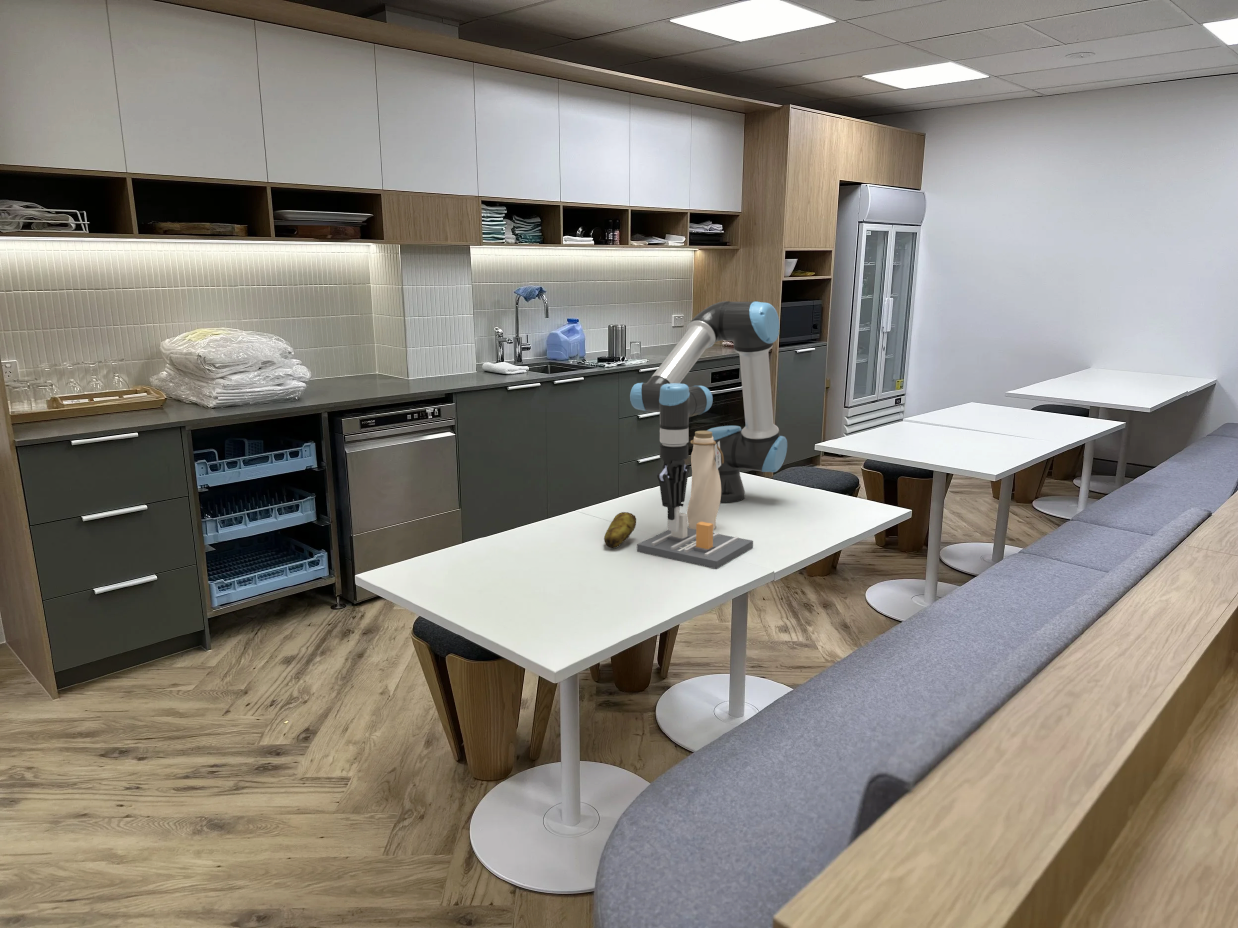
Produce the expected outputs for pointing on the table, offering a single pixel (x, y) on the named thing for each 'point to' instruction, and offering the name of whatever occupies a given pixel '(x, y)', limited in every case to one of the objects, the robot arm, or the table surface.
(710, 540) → the fader
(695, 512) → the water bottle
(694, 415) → the robot arm
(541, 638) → the table surface
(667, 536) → the console
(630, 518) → the potato
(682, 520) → the fader
